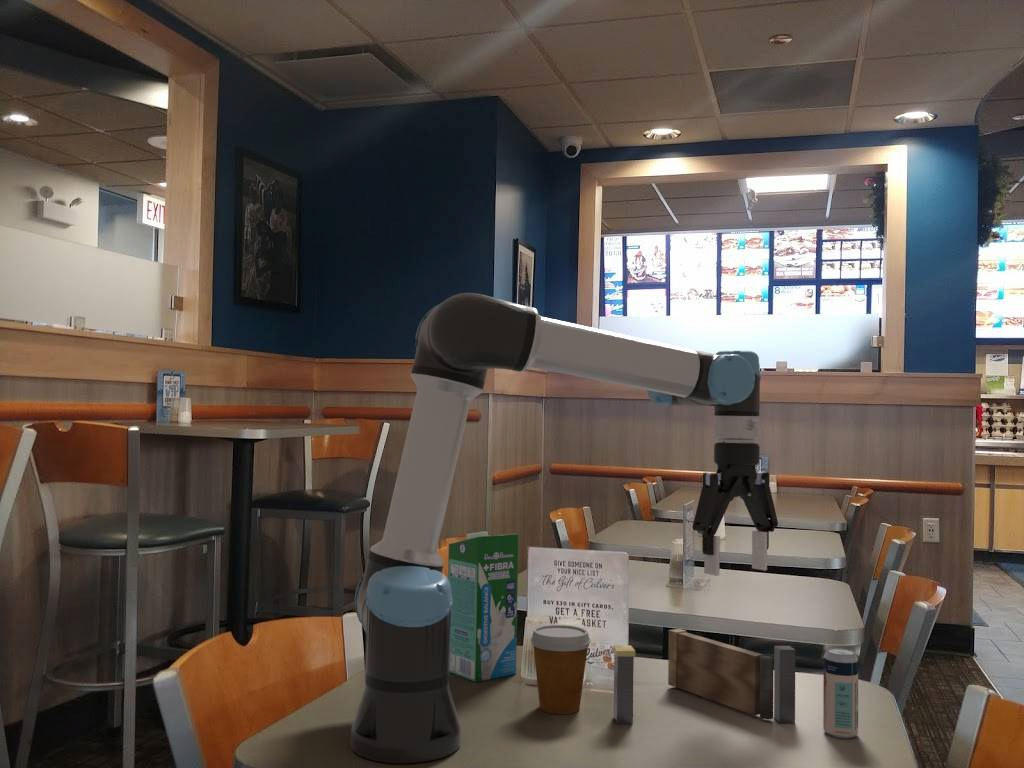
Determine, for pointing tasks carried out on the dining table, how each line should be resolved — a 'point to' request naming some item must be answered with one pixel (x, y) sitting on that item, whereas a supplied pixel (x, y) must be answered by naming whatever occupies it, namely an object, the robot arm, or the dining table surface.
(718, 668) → the garden gate
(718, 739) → the dining table surface
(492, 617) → the milk carton
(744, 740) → the dining table surface
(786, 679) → the hinge post
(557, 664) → the disposable coffee cup
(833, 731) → the supplement bottle
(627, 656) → the post
